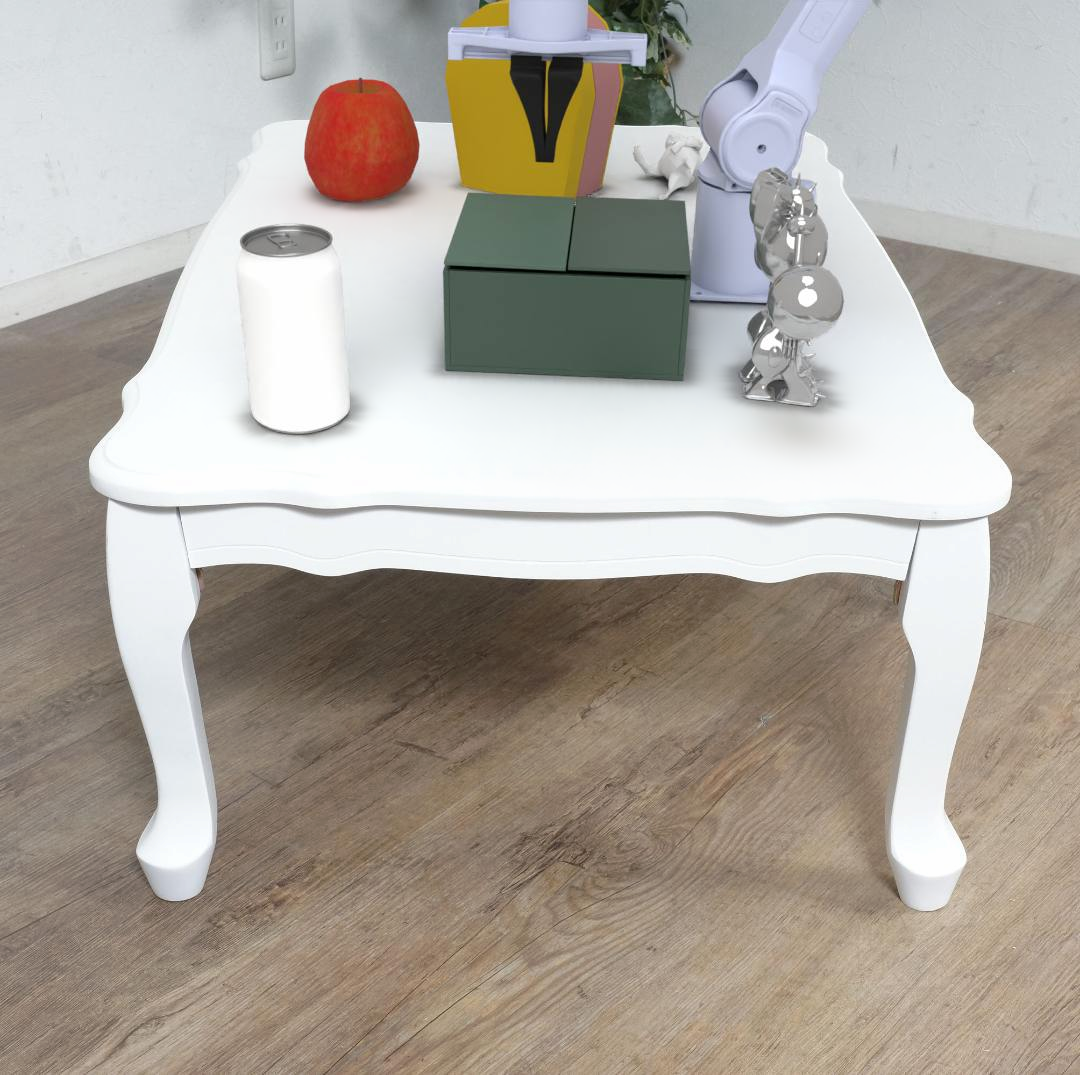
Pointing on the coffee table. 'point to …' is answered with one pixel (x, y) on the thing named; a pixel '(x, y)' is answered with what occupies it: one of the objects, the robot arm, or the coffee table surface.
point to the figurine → (674, 162)
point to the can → (293, 328)
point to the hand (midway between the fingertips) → (545, 158)
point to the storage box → (582, 300)
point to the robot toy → (788, 290)
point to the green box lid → (512, 232)
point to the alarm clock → (503, 130)
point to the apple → (360, 141)
